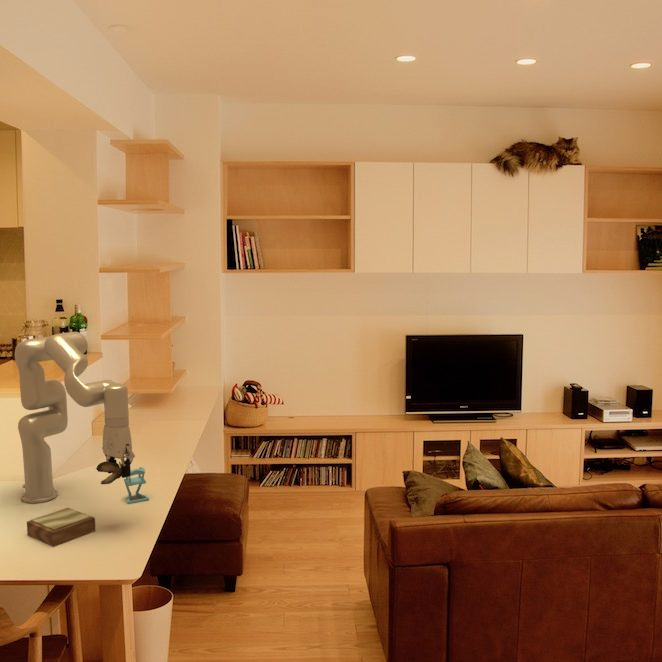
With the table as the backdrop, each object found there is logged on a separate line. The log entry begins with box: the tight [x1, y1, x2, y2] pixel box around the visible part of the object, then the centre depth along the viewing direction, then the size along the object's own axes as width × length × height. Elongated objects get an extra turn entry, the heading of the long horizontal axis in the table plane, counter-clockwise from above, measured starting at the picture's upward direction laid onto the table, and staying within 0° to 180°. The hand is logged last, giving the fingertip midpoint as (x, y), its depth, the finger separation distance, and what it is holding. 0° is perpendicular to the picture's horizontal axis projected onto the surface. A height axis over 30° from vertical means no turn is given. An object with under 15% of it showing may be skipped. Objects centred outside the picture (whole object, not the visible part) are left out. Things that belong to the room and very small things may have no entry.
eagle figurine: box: [95, 460, 123, 485], centre depth 242 cm, size 8×7×9 cm
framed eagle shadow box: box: [26, 507, 96, 547], centre depth 239 cm, size 15×15×5 cm
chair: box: [123, 466, 150, 505], centre depth 268 cm, size 8×8×12 cm
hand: (119, 474), depth 243 cm, fingers closed on eagle figurine, 6 cm apart
